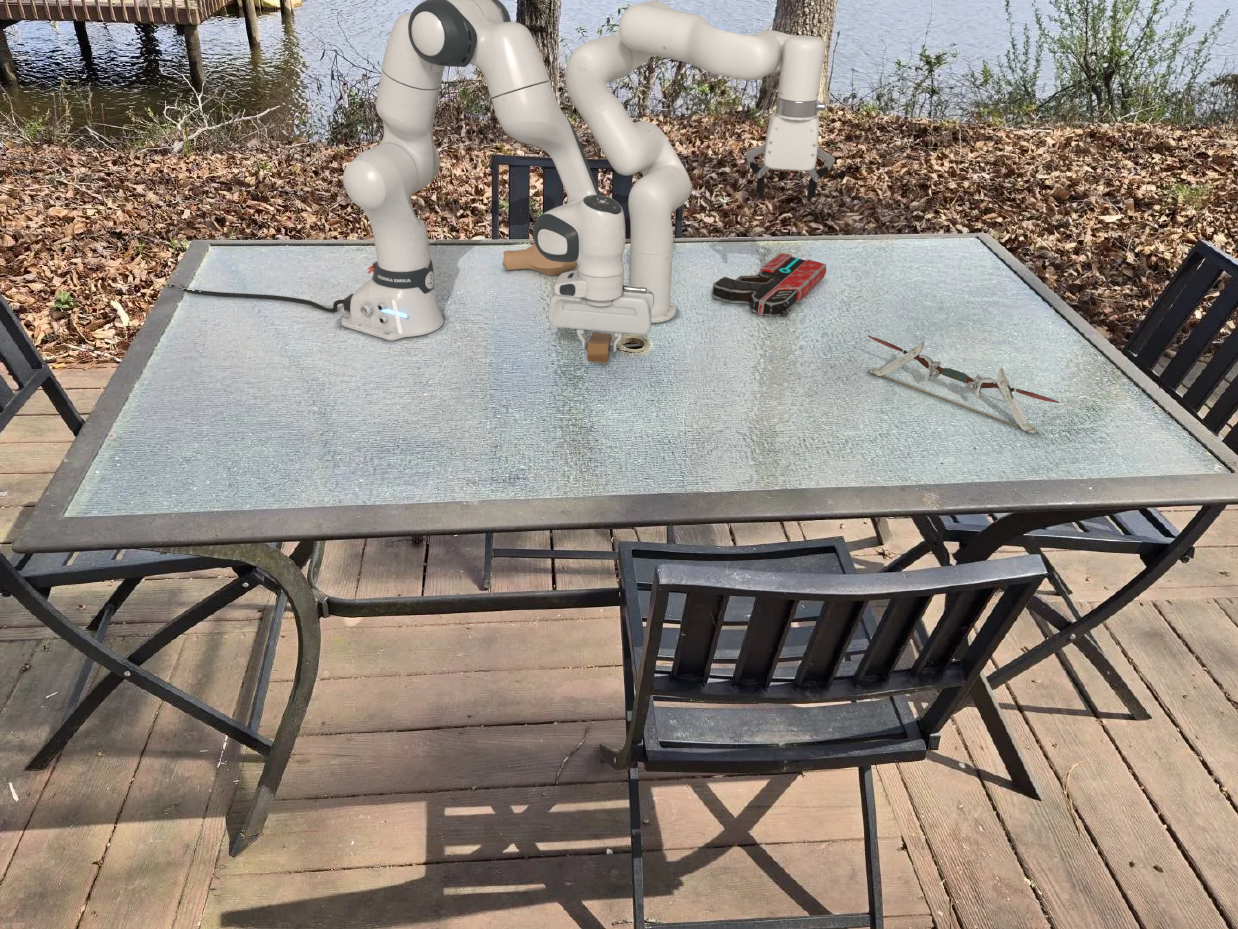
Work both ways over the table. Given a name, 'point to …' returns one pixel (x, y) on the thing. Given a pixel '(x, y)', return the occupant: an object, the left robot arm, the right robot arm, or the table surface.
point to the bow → (972, 384)
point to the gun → (772, 285)
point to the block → (599, 347)
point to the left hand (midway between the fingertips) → (599, 349)
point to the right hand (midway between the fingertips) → (784, 197)
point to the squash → (535, 262)
